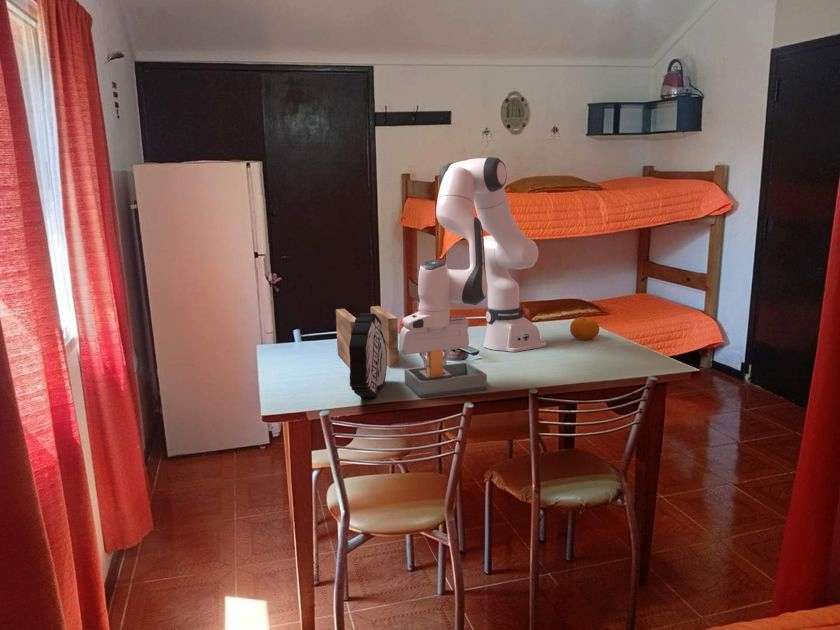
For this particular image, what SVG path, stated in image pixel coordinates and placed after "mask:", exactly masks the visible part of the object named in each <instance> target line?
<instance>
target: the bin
mask: <svg viewBox="0 0 840 630" xmlns="http://www.w3.org/2000/svg"><path fill="white" fill-rule="evenodd" d="M403 369H404V385H405V386H406V387H408V388H409V389H410V390H411V391H412V392H413V393H414V394H415V395H416V396H417V397H418V398H419V399H425V398H429V397H431V398H432V397H440V396H446V395H455V394H462V393H471V392H477V391H486V390H487V378H488V377H487V373H485V372H483V371H482V370H481V369H480V368H477V367H476V366H474V365H473V364H471V363H469V362H468V361H465V362H457V363H456V362H455V363H447V364H446V365H443V369H444V370H446V371H447V372H448V373H450V374H451V375H452V378H445V379H437V380H428V381H421V380H420V379H419V371H422V370H427V367H424V366H422V367H421V366H419V367H411V368H403Z"/></svg>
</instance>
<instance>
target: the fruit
mask: <svg viewBox="0 0 840 630" xmlns="http://www.w3.org/2000/svg"><path fill="white" fill-rule="evenodd" d="M569 332H570V333H571V335H572V337H574V338H575V339H577V340H582V341H590V340H593V339H595V338H596V337H597V336H598V334H599V333H600V326H599V324H598V322H597V321H596V320H595V319H594V318H592V317H589V316H579V317H576V318H575V319H573V320H572V322H571V323H570V327H569Z"/></svg>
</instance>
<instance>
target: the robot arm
mask: <svg viewBox="0 0 840 630" xmlns="http://www.w3.org/2000/svg"><path fill="white" fill-rule="evenodd" d="M506 182H507V169H506V165H505V163H504V162H503V161H502V159H500V158H499V157H494V156H493V157H492V156H489V157H488V156H487V157H479V158H478V157H477V158H476V157H475V158H470V159H466V160H460V161H457V162H450V163H447V164H445V165H443V167H441V169H440V171H439V174H438V184H439V190H438V195H437V200H436V201H437V202H436V209H435V217H436V219H437V222H438V223H439V224H440V226H441V227H442V228H444V230H446V231H448V232H450V233H452V234H453V235H456V236H459V237H460V238H461V237H462V238H463V239H465V240H466V241H467V242H468V249H469V252H468V253H469V254H468V255H469V267H468V268H467V269H450V268H448V264H447V262H446V261H444V260H439V259H431V260H426V261H424V262H422V263H421V264H420V267H419V271H418V280H417V295H418V298H419V302H418V303H419V304H418V311H417V312H414V313H412V314H410V315H407V316H404V317H403V318H402V320H401V321H402V322H401V323H402V325H403V327H402V328H401V329H400V333H399V339H398V349H399V350H400V352H401V353H402V354H404V355H414V354H418V355H419V356H420V358H421V360H422V361H423V363H422V364H423V365H422V366H423V367H430V361H429V360H427V352H431V351H439V350H443V365H446V364H448V362H447V360H448V358H449V356H450V354H451V351H452V350H459V349H467V348H468V347H469V344H470V337H469V336H470V335H469V332H468V329H469V320H468V318H467V317H465V316H464V315H459V316H451V314H450V310H451V309H450V306H451V305H450V303H454V304H455V303H456V304H458V303H459V304H465V305H470V306H471V305H472V306H477V305H479V304H480V303H481V302H483V301H484V300H485V299H486V298H487V306H486V310H485V311H486V313H485V316H486V317H485V319H486V330H485V331H486V332H485V336H484V340H483V344H482V345H483V347H484V348H486V349H488V350H493V351H505V352H511V353H517V352H522V351H527V350H532V349H539V348H544V347H547V342H546V340H544V339H542V338H541V334H540V330H539V328H538V327H537V326H536V324H534V323H532V322H531V321H530V320H529V319H527V318H526V317H525V316H524V315H529V313H530V309H528V308H526V307H524V308H523V307H521V305H520V285H519V283H518V281H516V280H515V279H514V278H512V276H511V275H510V273H509V270H523V269H525V270H526V269H530V268H533V267H534V266H535V264H536V262H537V261H538V258H539V247H538V245H537V243H536V241H534V240H532V239H531V238H530V237H528V236H527V235H526V234H525V233H524V232H523V231H522V230H521V229H520V227H519V225H518V224H517V223H516V221H515V219H514V217H513V214H512V211H511V210H512V209H511V207H510V204H509V200H508V196H507V192H506V190H505V186H504V185H505V184H507V183H506ZM474 208H475V212H476V215H477V217H476V216H475V212H474ZM484 231H485V232H486V233H488V234H489V235H485V236H484ZM508 269H509V270H508Z"/></svg>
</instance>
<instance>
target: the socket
mask: <svg viewBox="0 0 840 630" xmlns="http://www.w3.org/2000/svg"><path fill="white" fill-rule="evenodd" d="M445 378H452V375H451V374H450V373H448V372H447V371H446V370H444V369H443V375H436V376H429V375H428V374H427V370H422V371H419V379H420V380H421V381H428V380H437V379H445Z"/></svg>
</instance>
